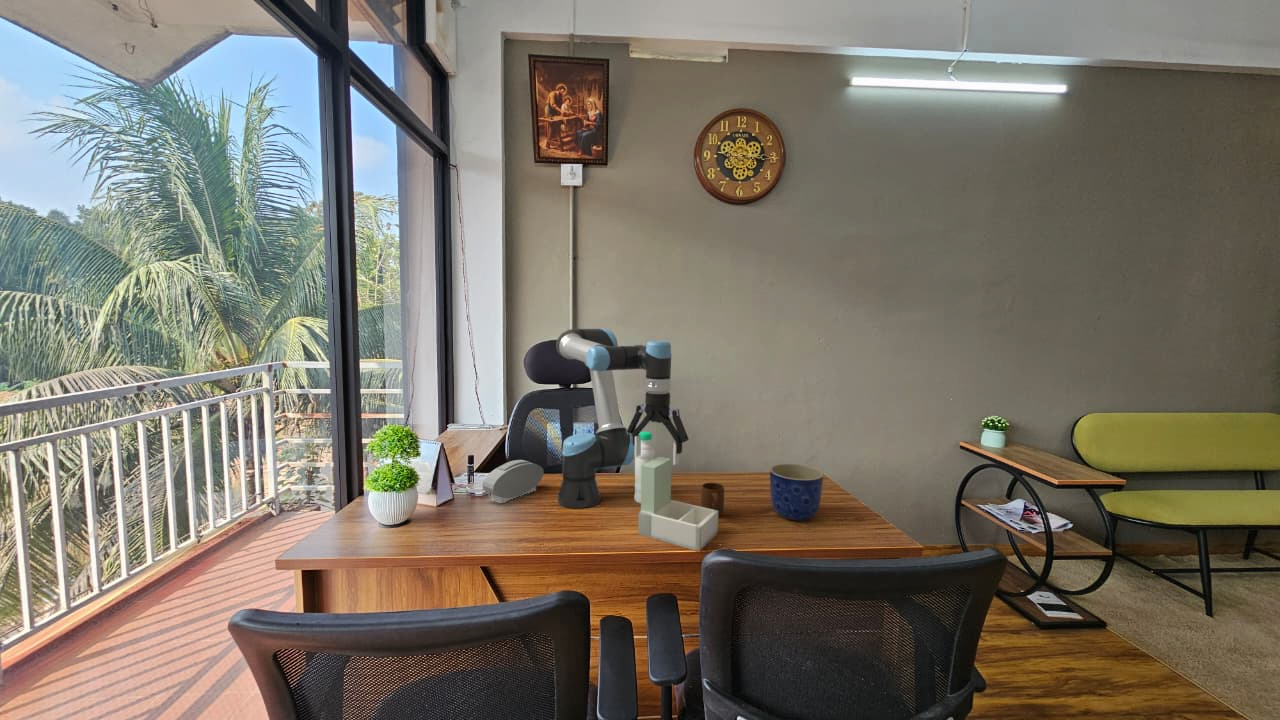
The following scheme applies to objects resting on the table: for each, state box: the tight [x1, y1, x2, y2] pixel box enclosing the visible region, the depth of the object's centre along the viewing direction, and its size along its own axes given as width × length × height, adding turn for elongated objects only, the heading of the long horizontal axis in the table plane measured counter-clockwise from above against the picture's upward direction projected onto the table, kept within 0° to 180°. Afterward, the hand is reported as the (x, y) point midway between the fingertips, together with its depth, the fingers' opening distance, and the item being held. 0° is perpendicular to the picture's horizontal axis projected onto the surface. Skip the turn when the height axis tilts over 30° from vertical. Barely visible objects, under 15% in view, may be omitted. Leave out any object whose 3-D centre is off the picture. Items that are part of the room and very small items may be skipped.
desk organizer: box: [637, 499, 719, 552], centre depth 143 cm, size 20×14×9 cm
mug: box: [700, 482, 725, 518], centre depth 157 cm, size 12×8×9 cm, turn 0°
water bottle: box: [634, 431, 656, 505], centre depth 168 cm, size 7×7×25 cm
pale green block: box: [640, 456, 672, 514], centre depth 146 cm, size 4×11×14 cm, turn 149°
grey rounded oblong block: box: [482, 459, 545, 503], centre depth 173 cm, size 23×6×13 cm, turn 144°
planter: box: [769, 463, 825, 522], centre depth 157 cm, size 17×17×15 cm
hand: (656, 459), depth 146 cm, fingers open, 13 cm apart
